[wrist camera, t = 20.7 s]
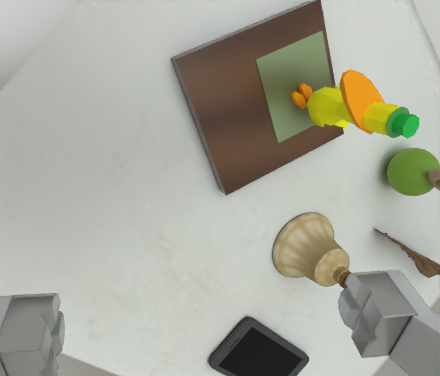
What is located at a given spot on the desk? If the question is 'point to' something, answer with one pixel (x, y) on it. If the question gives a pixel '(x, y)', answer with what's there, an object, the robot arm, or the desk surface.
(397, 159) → the snail figurine
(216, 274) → the desk surface
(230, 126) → the board
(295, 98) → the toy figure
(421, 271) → the wood plank
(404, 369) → the robot arm
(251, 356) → the cell phone
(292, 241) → the hand bell
